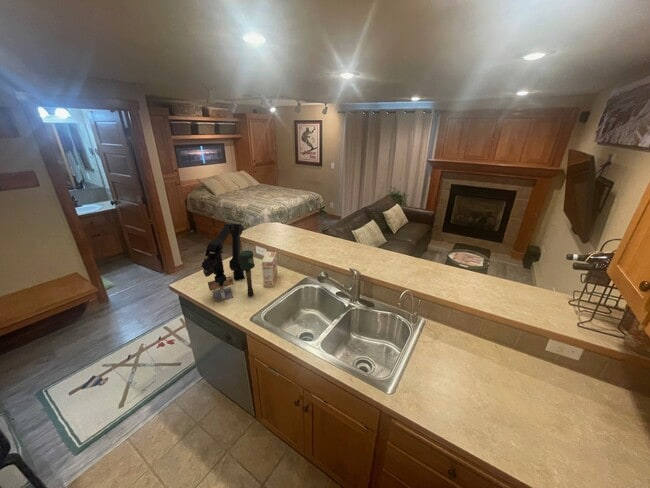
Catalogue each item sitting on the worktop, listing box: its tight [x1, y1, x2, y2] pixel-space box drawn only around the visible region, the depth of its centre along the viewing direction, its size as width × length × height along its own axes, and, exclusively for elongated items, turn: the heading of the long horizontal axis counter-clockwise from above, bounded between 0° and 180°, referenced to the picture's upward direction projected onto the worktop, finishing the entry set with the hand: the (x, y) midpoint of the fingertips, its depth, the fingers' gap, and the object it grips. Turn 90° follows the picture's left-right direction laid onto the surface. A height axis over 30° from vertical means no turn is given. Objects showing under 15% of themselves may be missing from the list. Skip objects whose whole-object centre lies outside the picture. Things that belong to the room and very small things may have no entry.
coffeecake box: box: [261, 251, 279, 288], centre depth 177 cm, size 15×7×20 cm, turn 179°
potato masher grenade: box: [239, 250, 256, 297], centre depth 159 cm, size 8×9×30 cm
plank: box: [207, 275, 234, 292], centre depth 162 cm, size 14×4×4 cm, turn 124°
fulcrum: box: [212, 286, 234, 303], centre depth 165 cm, size 11×12×4 cm
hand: (221, 284), depth 163 cm, fingers closed on plank, 4 cm apart
